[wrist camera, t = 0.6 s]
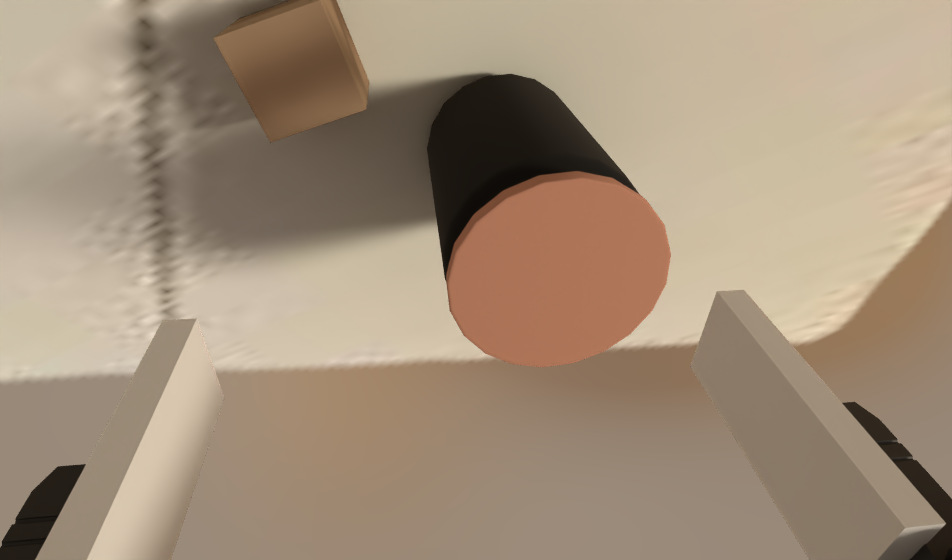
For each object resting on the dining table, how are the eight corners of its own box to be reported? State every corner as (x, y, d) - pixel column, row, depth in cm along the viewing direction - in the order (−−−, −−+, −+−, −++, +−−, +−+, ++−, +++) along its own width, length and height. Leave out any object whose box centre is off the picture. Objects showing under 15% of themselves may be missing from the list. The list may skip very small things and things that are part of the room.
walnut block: (239, 18, 34) (213, 38, 29) (330, -15, 33) (319, -1, 28) (286, 110, 37) (270, 142, 32) (369, 81, 37) (366, 109, 32)
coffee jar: (474, 233, 44) (515, 397, 29) (396, 124, 38) (399, 261, 24) (592, 163, 42) (700, 304, 27) (529, 36, 36) (622, 128, 22)
